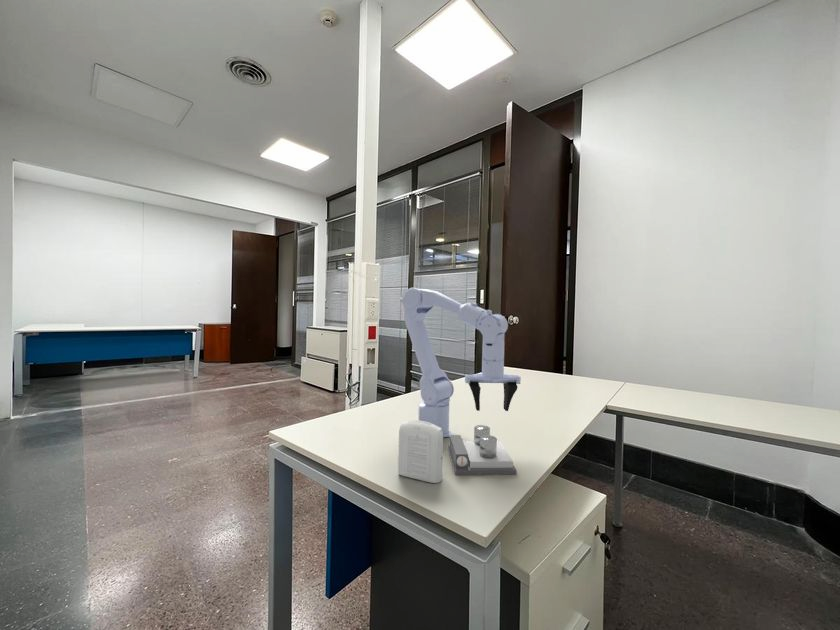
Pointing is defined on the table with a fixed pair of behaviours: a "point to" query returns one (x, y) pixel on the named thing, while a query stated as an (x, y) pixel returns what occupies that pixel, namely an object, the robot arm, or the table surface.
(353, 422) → the table surface
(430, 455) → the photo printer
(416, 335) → the robot arm
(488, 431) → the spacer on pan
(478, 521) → the table surface
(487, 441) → the spacer
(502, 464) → the scale
